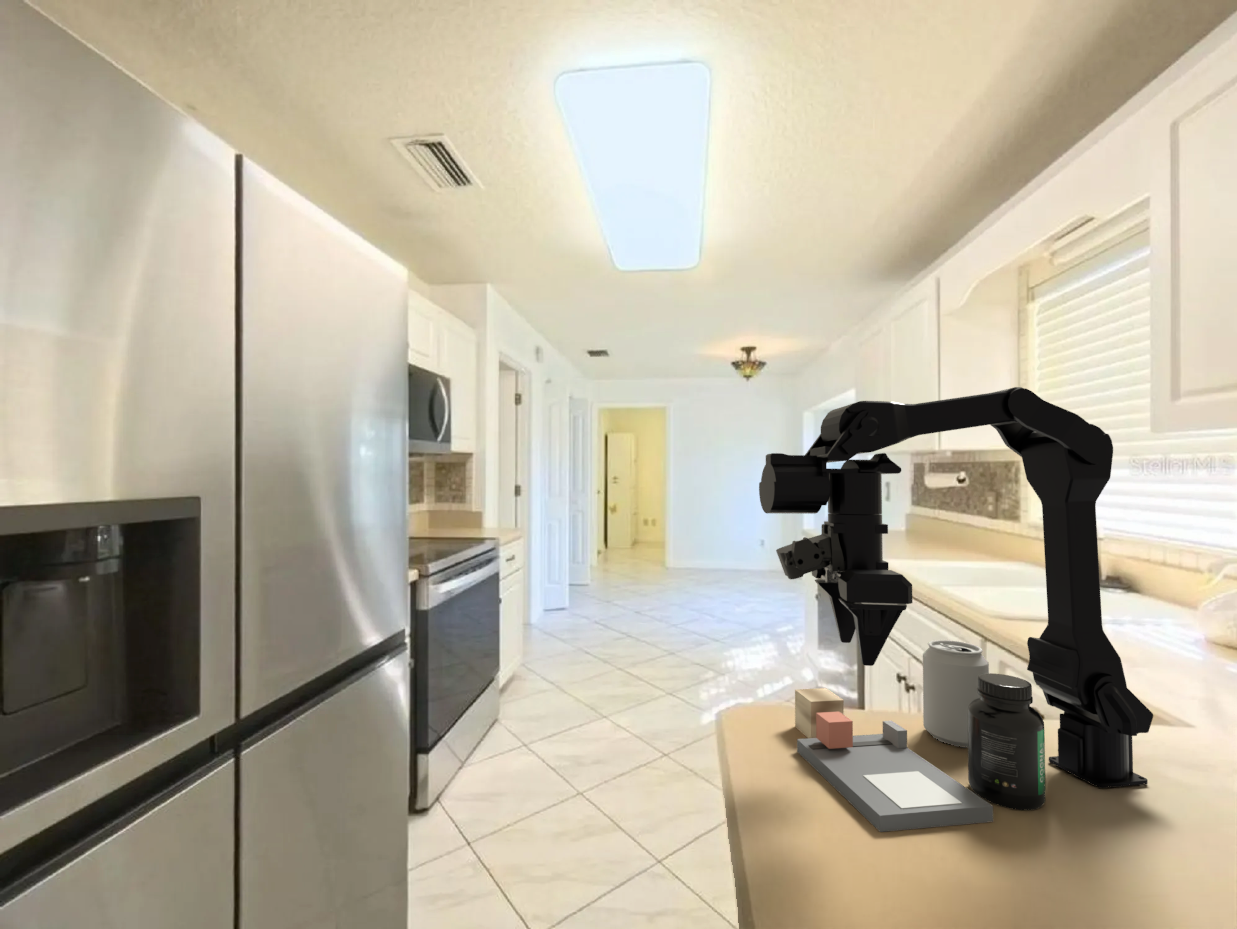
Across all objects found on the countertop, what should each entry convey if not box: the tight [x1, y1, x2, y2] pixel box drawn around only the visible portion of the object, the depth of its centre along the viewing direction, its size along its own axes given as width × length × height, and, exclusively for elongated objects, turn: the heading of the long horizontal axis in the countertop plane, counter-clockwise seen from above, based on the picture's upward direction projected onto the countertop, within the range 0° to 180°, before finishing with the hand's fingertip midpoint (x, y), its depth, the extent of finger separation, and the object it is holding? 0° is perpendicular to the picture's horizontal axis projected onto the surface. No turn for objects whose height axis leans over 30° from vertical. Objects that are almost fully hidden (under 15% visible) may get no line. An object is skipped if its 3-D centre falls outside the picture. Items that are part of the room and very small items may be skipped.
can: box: [922, 639, 990, 748], centre depth 77 cm, size 8×8×12 cm
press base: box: [796, 720, 994, 833], centre depth 65 cm, size 12×17×4 cm
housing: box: [794, 687, 845, 739], centre depth 78 cm, size 4×4×5 cm
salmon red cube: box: [816, 712, 854, 749], centre depth 70 cm, size 3×3×3 cm
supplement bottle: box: [967, 672, 1046, 811], centre depth 63 cm, size 7×7×12 cm
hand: (855, 652), depth 66 cm, fingers open, 9 cm apart
